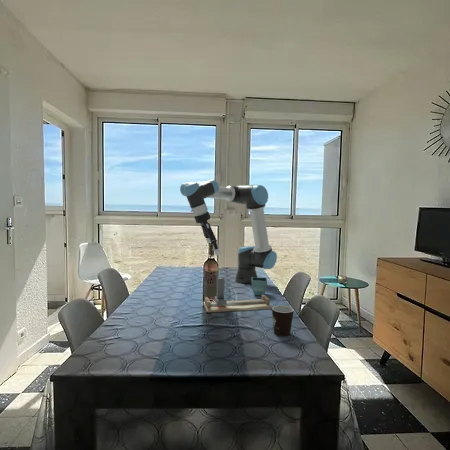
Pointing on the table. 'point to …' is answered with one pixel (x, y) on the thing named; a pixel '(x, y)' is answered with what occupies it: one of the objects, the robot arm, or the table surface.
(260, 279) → the flower pot
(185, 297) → the table surface
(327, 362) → the table surface
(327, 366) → the table surface
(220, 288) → the carriage
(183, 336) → the table surface
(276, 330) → the coffee mug
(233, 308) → the rail
